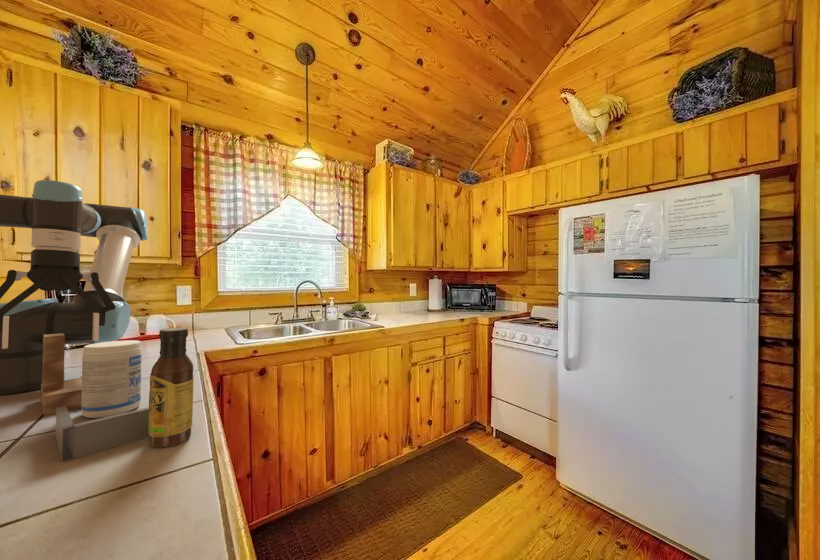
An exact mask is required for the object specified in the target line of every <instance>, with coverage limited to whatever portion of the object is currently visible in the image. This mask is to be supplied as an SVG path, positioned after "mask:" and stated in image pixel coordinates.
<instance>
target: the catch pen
mask: <svg viewBox="0 0 820 560" xmlns="http://www.w3.org/2000/svg"><path fill="white" fill-rule="evenodd" d="M148 425H149V406H148V407H144V408H140V409H134V410H131V411H128V412H125V413H122V414H118V415H113V416H109V417H103V418H95V419H94V420H93V419H91V420H88V421H83V422H79V423H75V424H74V422H73V419H72V418H71V414H70V413H69V410H67V407H66V406H62V407H57V408H56V413H55V436H54V437H55V440H56V443H57V446H58V450H59V454H60V458H61V461H62V462H66V461H70V460H73V459H77V458H80V457H85V456H88V455H91V454H94V453H98V452H100V451H101V452H102V451H104V450H107V449H112V448H115V447H119V446H122V445H125V444H128V443H129V444H130V443H133V442H136V441H139V440H143V439H146V438H149V437H150V435H149V434H148Z"/></svg>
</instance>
